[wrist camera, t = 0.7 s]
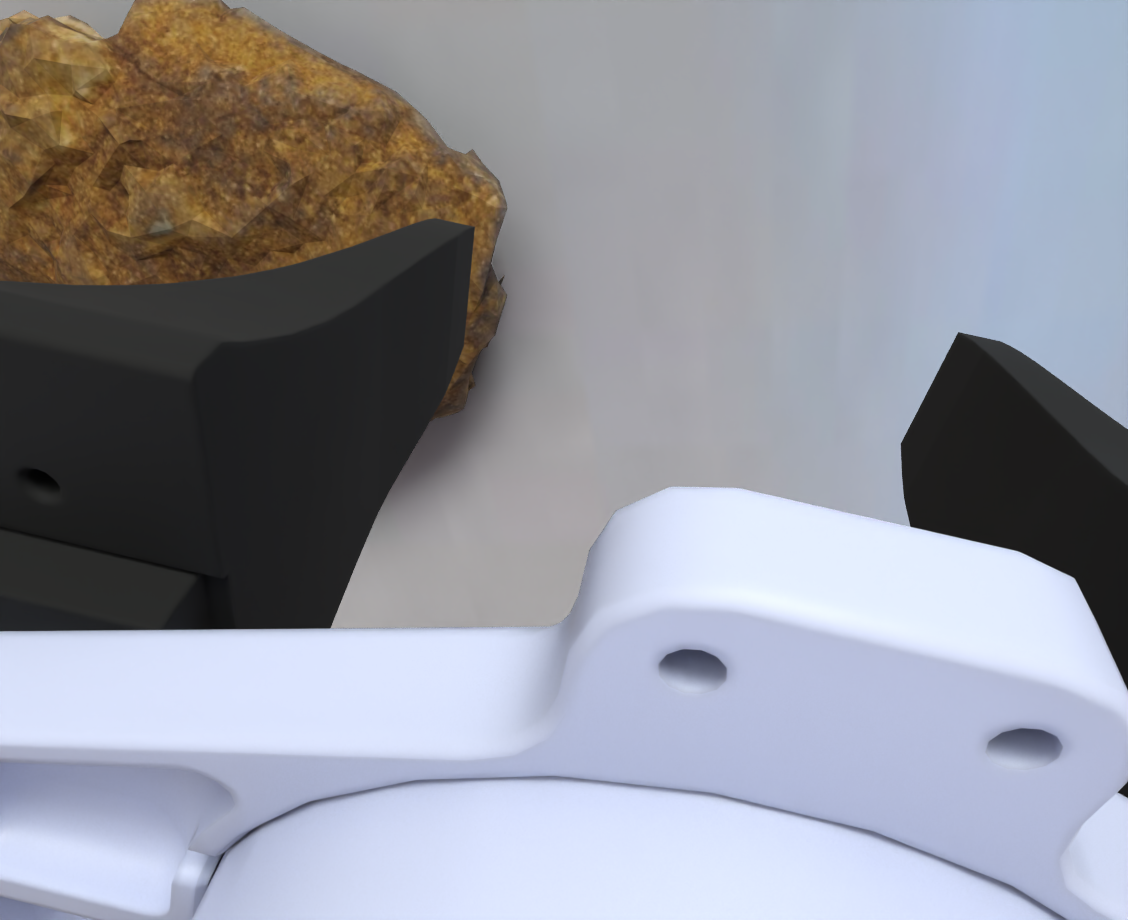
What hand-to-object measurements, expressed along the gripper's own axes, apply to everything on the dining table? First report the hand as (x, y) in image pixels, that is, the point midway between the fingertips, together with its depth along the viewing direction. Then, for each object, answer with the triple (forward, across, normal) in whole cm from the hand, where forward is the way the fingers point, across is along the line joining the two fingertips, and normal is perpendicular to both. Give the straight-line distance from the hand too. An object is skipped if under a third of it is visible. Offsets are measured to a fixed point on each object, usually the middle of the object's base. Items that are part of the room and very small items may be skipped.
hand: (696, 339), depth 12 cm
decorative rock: (+10, +12, +5) cm, 16 cm away
